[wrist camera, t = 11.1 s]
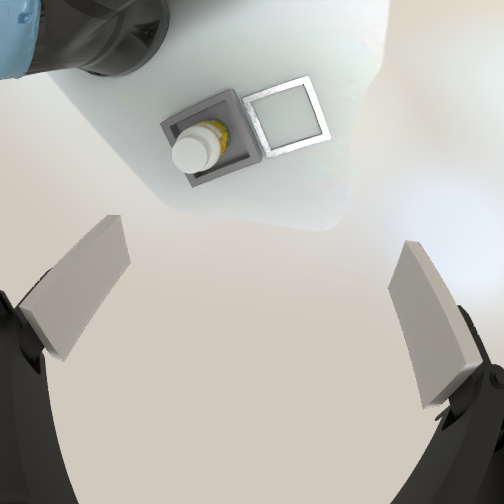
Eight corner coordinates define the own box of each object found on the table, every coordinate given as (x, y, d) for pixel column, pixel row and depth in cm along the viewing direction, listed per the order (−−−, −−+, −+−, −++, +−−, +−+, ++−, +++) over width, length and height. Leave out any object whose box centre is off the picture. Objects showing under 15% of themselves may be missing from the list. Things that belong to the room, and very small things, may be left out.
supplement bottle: (208, 110, 32) (183, 120, 25) (239, 135, 34) (224, 152, 26) (185, 140, 35) (156, 159, 27) (215, 164, 37) (194, 189, 29)
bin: (168, 120, 34) (159, 123, 32) (233, 89, 31) (229, 89, 28) (198, 180, 39) (192, 187, 36) (262, 155, 36) (260, 161, 33)
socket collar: (242, 98, 32) (241, 98, 31) (307, 76, 29) (307, 75, 28) (268, 157, 36) (267, 158, 35) (330, 137, 33) (331, 138, 33)
